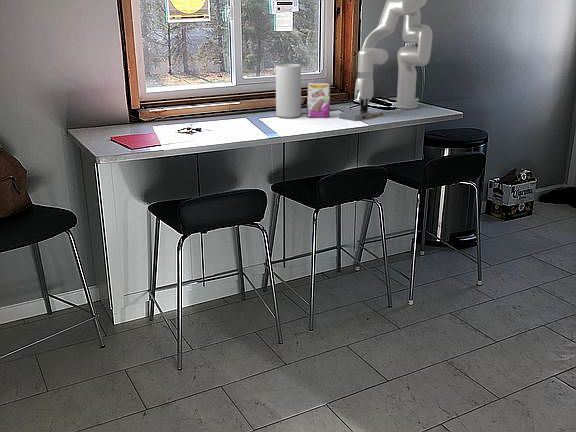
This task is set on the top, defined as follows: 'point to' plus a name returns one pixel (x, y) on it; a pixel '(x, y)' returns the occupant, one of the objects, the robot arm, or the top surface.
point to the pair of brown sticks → (373, 115)
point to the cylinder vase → (288, 90)
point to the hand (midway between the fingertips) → (363, 112)
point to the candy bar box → (318, 100)
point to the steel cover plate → (353, 115)
